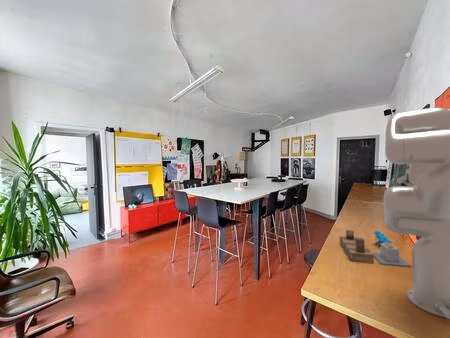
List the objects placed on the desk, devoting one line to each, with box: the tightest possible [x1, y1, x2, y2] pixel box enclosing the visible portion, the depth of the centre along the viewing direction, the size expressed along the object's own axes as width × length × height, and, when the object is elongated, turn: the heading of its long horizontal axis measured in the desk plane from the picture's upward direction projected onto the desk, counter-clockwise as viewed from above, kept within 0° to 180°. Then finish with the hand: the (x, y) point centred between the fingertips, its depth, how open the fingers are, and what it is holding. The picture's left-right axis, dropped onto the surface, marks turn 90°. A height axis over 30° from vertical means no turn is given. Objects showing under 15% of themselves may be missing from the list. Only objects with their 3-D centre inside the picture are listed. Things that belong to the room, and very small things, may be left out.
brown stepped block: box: [339, 229, 375, 264], centre depth 103 cm, size 22×9×10 cm, turn 162°
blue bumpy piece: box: [373, 230, 392, 245], centre depth 109 cm, size 11×6×10 cm
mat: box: [371, 251, 412, 268], centre depth 93 cm, size 11×11×1 cm
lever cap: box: [379, 242, 400, 262], centre depth 93 cm, size 6×5×7 cm
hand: (422, 198), depth 84 cm, fingers open, 9 cm apart
